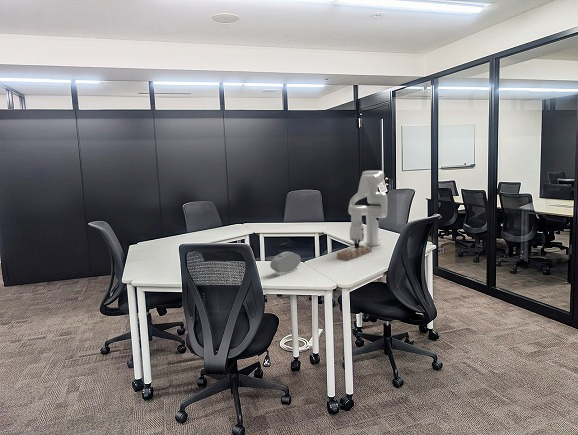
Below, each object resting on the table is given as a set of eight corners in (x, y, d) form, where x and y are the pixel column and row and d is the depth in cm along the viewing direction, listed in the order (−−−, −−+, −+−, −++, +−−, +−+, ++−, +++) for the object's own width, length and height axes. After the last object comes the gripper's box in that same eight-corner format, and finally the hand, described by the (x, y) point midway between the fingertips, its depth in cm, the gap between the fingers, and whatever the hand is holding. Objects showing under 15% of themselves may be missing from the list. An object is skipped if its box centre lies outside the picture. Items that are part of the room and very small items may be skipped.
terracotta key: (355, 251, 316) (355, 247, 315) (361, 252, 313) (361, 248, 312) (352, 252, 312) (352, 248, 312) (358, 253, 309) (358, 249, 308)
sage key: (361, 248, 322) (360, 243, 321) (366, 248, 319) (366, 244, 318) (357, 249, 318) (357, 245, 318) (363, 249, 315) (363, 245, 314)
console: (359, 250, 326) (359, 244, 325) (371, 251, 319) (371, 245, 319) (337, 258, 301) (336, 252, 301) (349, 260, 295) (349, 254, 294)
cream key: (350, 252, 310) (349, 247, 309) (356, 252, 306) (355, 248, 306) (346, 253, 306) (346, 248, 305) (352, 254, 303) (352, 249, 302)
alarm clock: (293, 267, 281) (293, 248, 279) (301, 268, 277) (300, 249, 275) (270, 275, 263) (269, 255, 262) (277, 276, 259) (277, 256, 258)
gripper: (368, 223, 308) (368, 248, 310) (350, 222, 317) (350, 246, 320) (363, 225, 302) (363, 250, 304) (344, 223, 311) (345, 248, 314)
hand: (356, 248), depth 312 cm, fingers closed
